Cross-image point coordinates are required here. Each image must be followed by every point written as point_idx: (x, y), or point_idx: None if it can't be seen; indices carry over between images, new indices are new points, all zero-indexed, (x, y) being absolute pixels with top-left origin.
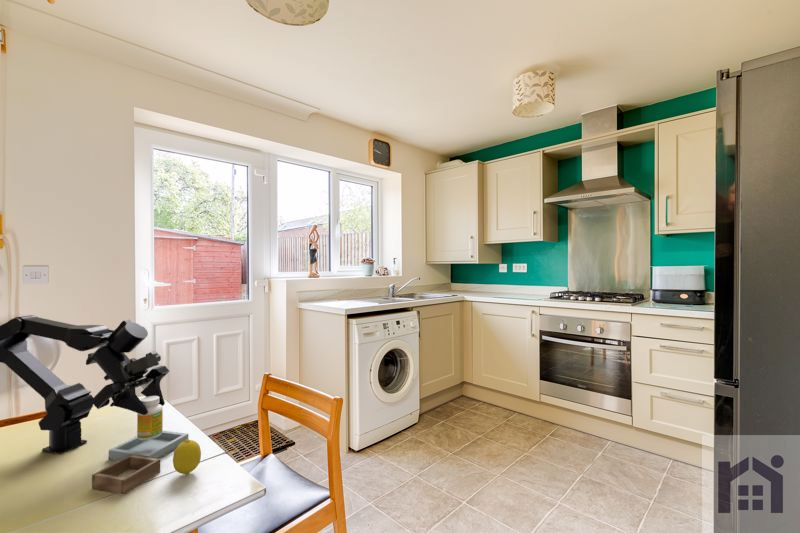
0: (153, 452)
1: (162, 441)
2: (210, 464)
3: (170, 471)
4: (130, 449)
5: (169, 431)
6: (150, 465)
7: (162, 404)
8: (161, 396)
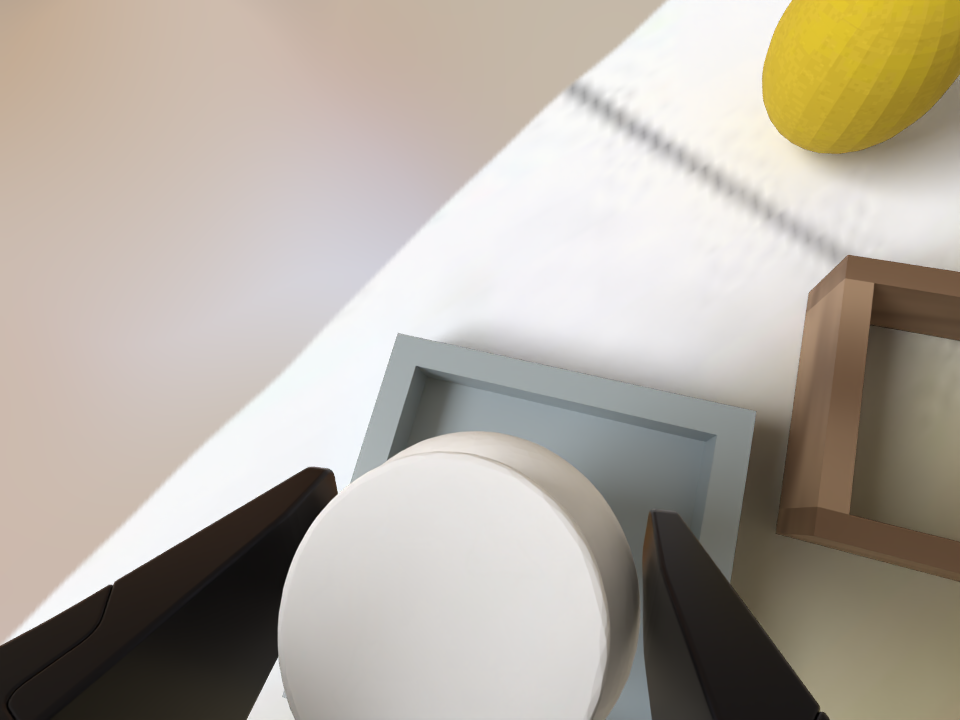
0: (697, 409)
1: None
2: (689, 79)
3: (789, 241)
4: None
5: None
6: (941, 269)
7: (329, 492)
8: (226, 534)
